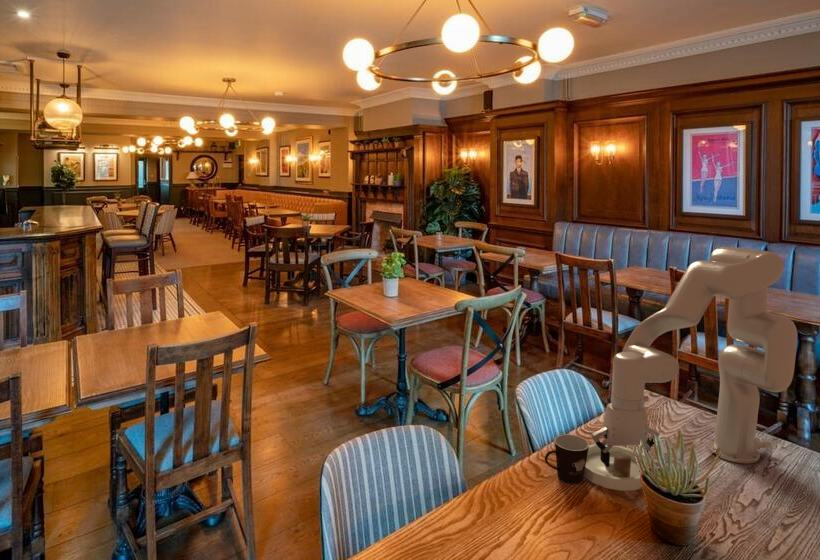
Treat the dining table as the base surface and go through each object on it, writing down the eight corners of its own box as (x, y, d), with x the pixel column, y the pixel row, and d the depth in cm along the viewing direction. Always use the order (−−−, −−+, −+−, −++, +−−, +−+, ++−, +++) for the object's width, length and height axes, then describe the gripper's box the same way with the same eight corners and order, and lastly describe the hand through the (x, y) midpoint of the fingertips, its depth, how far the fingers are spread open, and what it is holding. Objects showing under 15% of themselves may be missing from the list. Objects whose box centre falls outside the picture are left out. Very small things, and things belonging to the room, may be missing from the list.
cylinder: (625, 474, 133) (626, 453, 132) (632, 482, 130) (633, 461, 128) (610, 474, 133) (611, 453, 132) (617, 483, 129) (618, 461, 128)
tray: (630, 452, 146) (630, 442, 145) (663, 489, 128) (664, 478, 127) (568, 454, 145) (568, 444, 144) (593, 491, 127) (593, 481, 127)
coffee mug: (582, 468, 138) (584, 434, 136) (590, 487, 129) (592, 451, 127) (539, 467, 139) (540, 433, 137) (544, 485, 130) (545, 449, 129)
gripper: (653, 393, 132) (649, 454, 135) (587, 396, 131) (585, 457, 134) (668, 406, 124) (664, 469, 127) (599, 409, 124) (596, 473, 127)
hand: (623, 463), depth 131 cm, fingers open, 9 cm apart
